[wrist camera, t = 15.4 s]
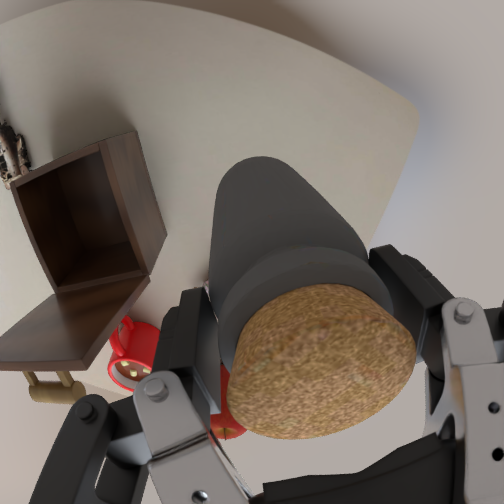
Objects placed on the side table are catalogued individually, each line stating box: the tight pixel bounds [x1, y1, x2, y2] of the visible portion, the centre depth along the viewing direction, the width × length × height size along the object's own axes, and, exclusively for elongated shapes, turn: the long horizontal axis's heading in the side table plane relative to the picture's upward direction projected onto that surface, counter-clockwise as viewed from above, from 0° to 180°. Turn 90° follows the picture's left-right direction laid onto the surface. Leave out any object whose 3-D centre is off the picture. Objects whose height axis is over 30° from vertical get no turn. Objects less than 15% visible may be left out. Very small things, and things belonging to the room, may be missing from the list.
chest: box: [9, 130, 167, 293], centre depth 30 cm, size 14×13×10 cm
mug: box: [107, 315, 160, 392], centre depth 40 cm, size 8×12×8 cm, turn 17°
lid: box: [0, 274, 150, 404], centre depth 22 cm, size 14×13×5 cm
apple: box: [210, 365, 247, 440], centre depth 43 cm, size 10×10×14 cm
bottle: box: [209, 156, 417, 439], centre depth 13 cm, size 6×6×15 cm
